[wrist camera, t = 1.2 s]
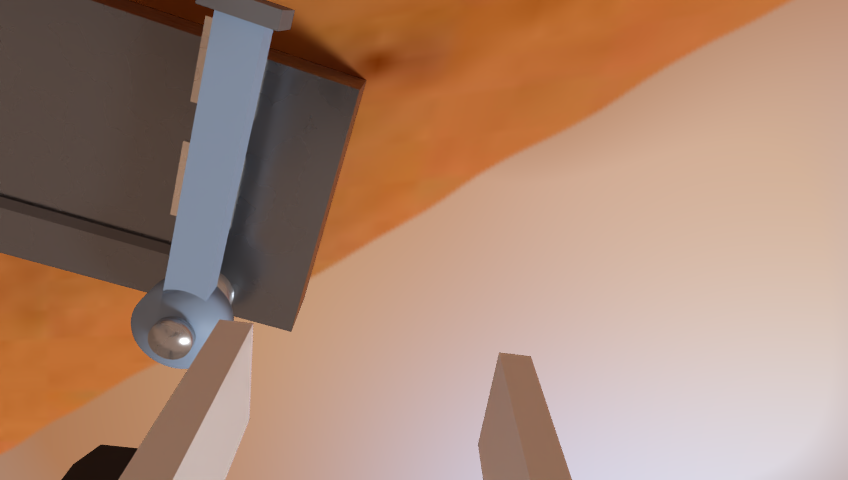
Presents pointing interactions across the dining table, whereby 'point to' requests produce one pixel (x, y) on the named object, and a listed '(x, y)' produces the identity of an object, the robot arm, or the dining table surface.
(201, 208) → the swing bar
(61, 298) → the dining table surface
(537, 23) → the dining table surface
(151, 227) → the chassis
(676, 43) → the dining table surface
